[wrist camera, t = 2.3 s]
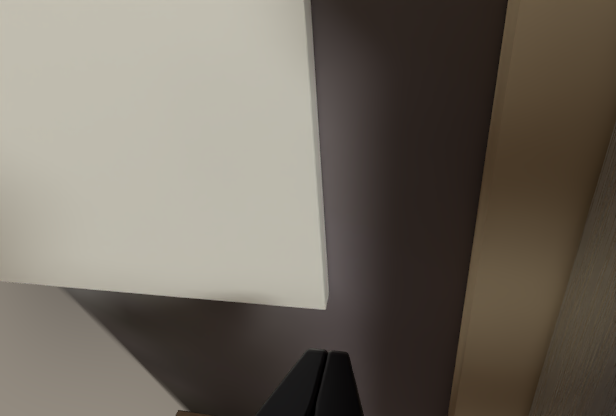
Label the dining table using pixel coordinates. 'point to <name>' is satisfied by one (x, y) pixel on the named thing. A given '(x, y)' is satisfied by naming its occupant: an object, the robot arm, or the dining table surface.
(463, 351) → the plane block
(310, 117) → the trivet
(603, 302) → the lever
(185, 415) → the cap block
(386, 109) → the dining table surface
